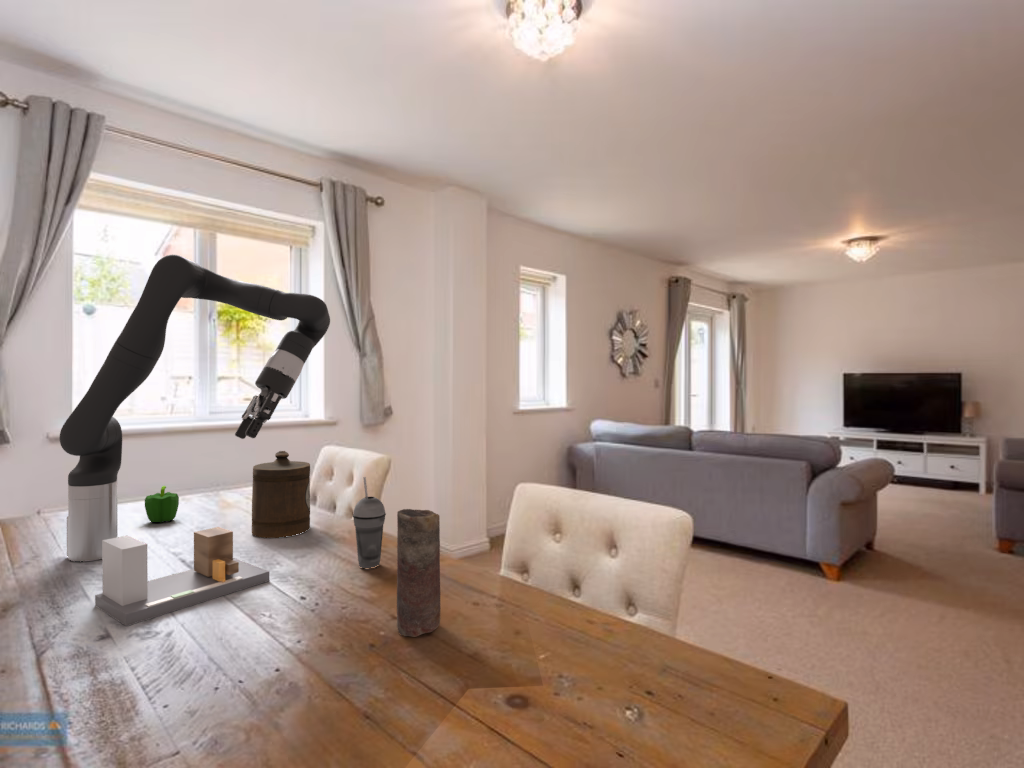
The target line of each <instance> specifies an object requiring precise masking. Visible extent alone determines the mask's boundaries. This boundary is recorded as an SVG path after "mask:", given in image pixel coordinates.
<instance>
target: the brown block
mask: <svg viewBox="0 0 1024 768" xmlns="http://www.w3.org/2000/svg"><path fill="white" fill-rule="evenodd" d="M233 558H234V531H232V530H230V529H226V528H223V527H220V526H216V527H212V528H207V529H202V530H198V531H193V569H194V571H196V572H198V573H200V574H203V575H205V576H207V577H210V576H213V560H217V559H220V560H222V561H225V574H227V575H231V574H234V573H238V572H239V562H236V561H234V560H233Z"/></svg>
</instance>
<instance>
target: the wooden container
mask: <svg viewBox="0 0 1024 768" xmlns="http://www.w3.org/2000/svg"><path fill="white" fill-rule="evenodd" d="M274 456H275V458H276V459H275V460H274V461H271V462H264V463H263V462H261V463H259V464H255V465H253V467H252V486H251V487H252V490H251V491H252V493H251V496H252V497H251V534H252V536H254V537H257V538H260V537H261V538H263V539H280V538H279V537H284V538H287V537H286V536H291V537H293V536H292V535H295V536H297V535H296V534H299V535H301V534H300V533H302V532H304V533H306V532H307V531H306V530H308V529H309V528H311V489H310V488H311V484H310V483H311V482H310V481H311V478H310V477H311V464H310V463H309V462H307V461H296V460H293V461H292V460H290V459H289V458H288V457H289V456H290V454H289V452H288V451H286V450H279V451H277V452H275V454H274ZM309 530H310V529H309ZM309 530H308V531H309ZM305 531H306V532H305ZM302 534H303V533H302ZM261 538H260V539H261Z"/></svg>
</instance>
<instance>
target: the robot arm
mask: <svg viewBox="0 0 1024 768" xmlns="http://www.w3.org/2000/svg"><path fill="white" fill-rule="evenodd" d="M141 293H142V294H141V295H140V298H139V300H138V302H137V304H136V306H135V308H134V309H133V311H132V312H131V314H130V316H129V317H128V320H127V322H126V323H125V325H124V327H123V329H122V331H121V332H120V334H119V335H118V337H117V338H116V339H115V342H114V343H113V345H112V347H111V348H110V350H109V352H108V353H107V354H108V355H107V356H106V359H105V360H104V362H103V363H102V365H101V367H100V369H99V370H98V372H97V374H96V376H95V377H94V379H93V381H92V383H91V384H90V386H89V388H88V390H87V391H86V393H85V394H84V396H83V397H82V399H81V400H80V401H79V403H78V404H77V405H76V407H75V408H74V409H73V411H72V412H71V413H70V415H69V416H68V417H67V419H66V420H65V421H64V423H63V425H62V427H61V429H60V431H59V432H60V433H59V444H60V446H61V448H62V450H63V451H64V452H65V453H67V454H68V455H71V456H76V457H79V460H78V462H77V464H76V466H75V467H74V468H73V469H71V471H70V472H69V473H68V474H67V475H68V476H67V484H68V485H67V490H68V491H67V492H68V493H67V494H68V495H67V498H68V499H67V502H68V503H67V504H68V505H67V507H68V508H67V509H68V514H67V515H68V516H66V557H67V556H68V557H67V558H68V561H70V560H71V561H70V562H75V561H80V562H81V561H83V562H92V561H99V560H102V540H107V539H112V538H117V537H118V473H119V471H120V470H121V466H122V454H123V453H122V452H123V431H122V426H121V425H120V422H119V421H118V420H117V419H116V418H115V417H114V415H115V413H116V411H117V410H118V408H119V407H120V405H122V403H124V401H125V400H126V399H127V398H128V397H129V396H130V395H131V394H133V392H135V391H136V390H137V389H138V388H139V387H140V386H141V385H143V384H144V382H145V381H146V380H147V379H148V377H149V376H150V375H151V373H152V372H153V370H154V368H155V366H156V365H157V363H158V361H159V359H160V357H162V353H163V351H164V348H165V343H166V335H167V327H168V323H169V319H170V317H171V315H172V312H173V311H174V309H175V308H176V306H177V305H178V303H179V301H180V300H181V299H182V298H183V299H198V300H205V301H206V300H207V301H214V302H218V303H222V304H225V305H229V306H231V307H233V308H234V307H235V308H237V309H240V310H242V311H246V312H249V313H251V314H253V315H258V316H261V317H265V318H268V319H272V320H276V321H285V320H287V318H288V319H294V320H295V319H296V320H298V324H296V327H295V328H294V329H293V330H289V331H288V332H286V333H285V334H284V336H283V337H282V338H281V340H280V342H279V343H278V345H277V347H276V349H275V350H274V351H273V353H272V354H271V356H270V357H269V358H268V360H267V362H266V363H265V365H264V367H263V368H262V370H261V372H260V373H259V375H258V376H257V378H256V380H255V383H254V384H255V386H256V387H257V388H258V389H260V391H261V392H260V393H259V394H258V395H256V394H255V395H254V396H253V397H252V398H251V400H250V402H249V404H248V405H247V407H246V409H245V410H244V412H243V414H242V415H241V423H240V424H239V426H238V428H237V429H236V431H235V433H234V436H235V437H237V438H239V439H241V440H244V439H246V437H249V438H251V439H256V438H257V436H258V434H259V433H260V430H261V428H262V427H263V425H264V424H266V422H267V421H269V420H271V419H272V416H273V414H274V413H275V411H276V409H277V406H278V405H279V403H280V401H281V400H285V399H287V398H288V397H289V394H290V393H291V391H292V390H293V388H294V386H295V384H296V382H297V381H298V379H299V376H300V375H301V373H302V370H303V367H304V365H305V363H306V362H307V360H308V358H309V356H310V355H311V352H312V351H313V349H314V348H315V347H316V346H317V345H318V343H320V341H321V340H322V338H323V337H324V336H325V334H326V333H327V332H328V330H329V327H330V324H331V317H330V314H329V313H330V312H329V310H328V306H327V304H326V302H325V301H324V300H322V299H321V298H319V297H317V296H316V295H312V294H309V293H308V294H307V293H300V292H299V293H297V292H285V291H282V290H279V289H275V288H272V287H268V286H265V285H261V284H257V283H252V282H247V281H241V280H236V279H232V278H229V277H227V276H224V275H221V274H218V273H216V272H214V271H212V270H209V269H208V268H206V267H204V266H202V265H200V264H199V263H197V262H196V261H194V260H191V259H188V258H187V257H184V256H182V255H178V254H168V255H165V256H162V257H161V258H160V259H158V261H157V262H156V263H155V265H154V266H153V268H152V269H151V271H150V273H149V276H148V278H147V281H146V283H145V286H144V288H143V290H142V292H141ZM80 562H79V563H80ZM81 563H82V562H81Z"/></svg>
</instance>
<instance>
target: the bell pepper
mask: <svg viewBox="0 0 1024 768" xmlns="http://www.w3.org/2000/svg"><path fill="white" fill-rule="evenodd" d="M166 489H167V486H166V485H162V486H161V488H160V492H157V493H154V494H150V495H146V497H145V499H144V509H145V514H146V516H147V520H149V522H150V521H151V522H160V523H165V522H164V521H169V522H171V521H170V520H172V521H173V519H175V518H176V517H177V512H178V508H179V505H180V504H179V503H180V497H179V495H178V493H175V492H171V491H167V492H165V491H166ZM162 521H163V522H162ZM151 522H150V523H151Z"/></svg>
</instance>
